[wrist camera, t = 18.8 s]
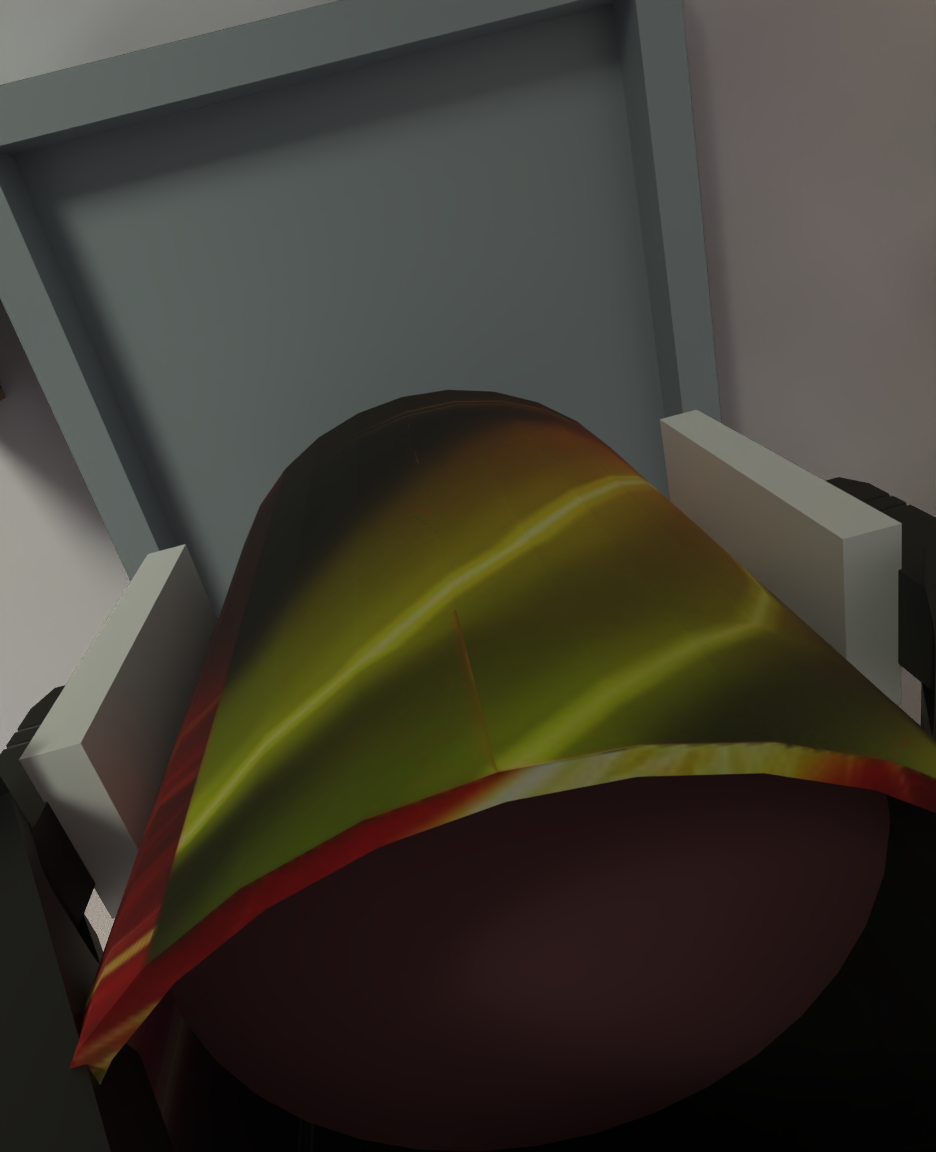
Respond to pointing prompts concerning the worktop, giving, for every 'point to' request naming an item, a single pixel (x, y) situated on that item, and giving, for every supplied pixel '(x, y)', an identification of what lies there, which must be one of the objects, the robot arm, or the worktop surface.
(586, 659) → the mug
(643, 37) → the tray
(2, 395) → the wooden frame
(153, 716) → the robot arm
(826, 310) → the worktop surface
